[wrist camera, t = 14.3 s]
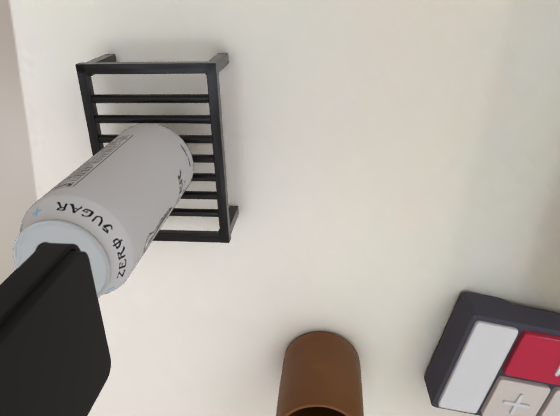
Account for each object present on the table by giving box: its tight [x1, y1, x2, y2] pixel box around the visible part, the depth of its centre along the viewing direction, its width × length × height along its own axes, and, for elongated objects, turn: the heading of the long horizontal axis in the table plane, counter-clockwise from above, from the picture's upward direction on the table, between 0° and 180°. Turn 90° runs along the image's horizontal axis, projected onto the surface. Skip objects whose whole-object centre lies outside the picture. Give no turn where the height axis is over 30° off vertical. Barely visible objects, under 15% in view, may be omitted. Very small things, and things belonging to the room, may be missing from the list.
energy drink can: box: [13, 123, 194, 297], centre depth 32 cm, size 6×6×15 cm
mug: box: [276, 332, 364, 416], centre depth 48 cm, size 12×8×9 cm, turn 172°
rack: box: [76, 53, 239, 243], centre depth 41 cm, size 14×10×5 cm
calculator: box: [424, 292, 560, 416], centre depth 47 cm, size 11×4×15 cm
